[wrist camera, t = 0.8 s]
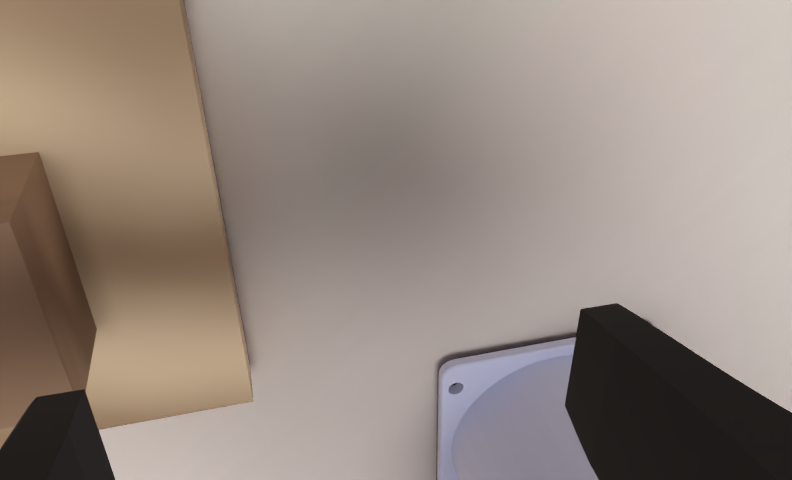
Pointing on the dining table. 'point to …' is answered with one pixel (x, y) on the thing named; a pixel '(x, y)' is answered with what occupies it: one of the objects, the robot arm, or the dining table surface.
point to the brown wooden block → (37, 294)
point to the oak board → (130, 197)
